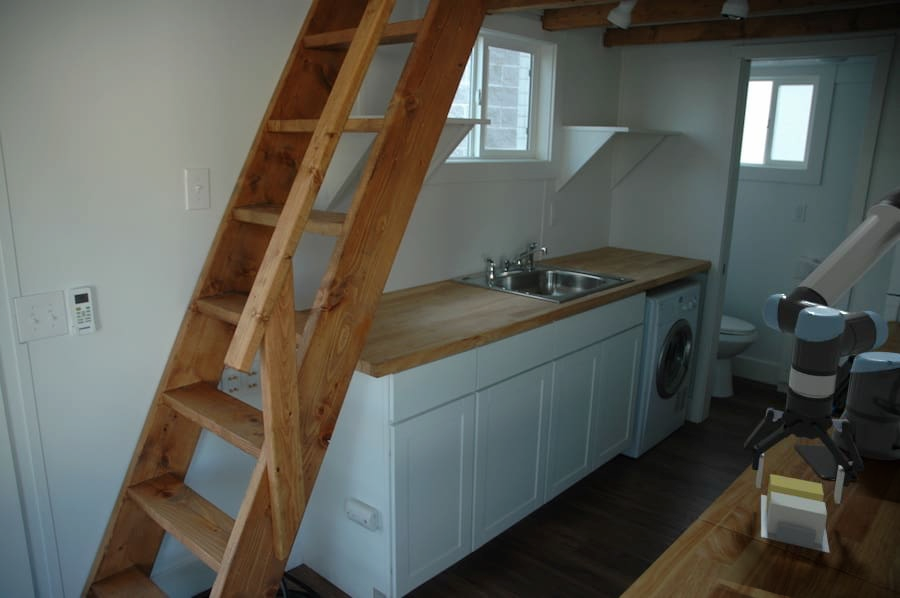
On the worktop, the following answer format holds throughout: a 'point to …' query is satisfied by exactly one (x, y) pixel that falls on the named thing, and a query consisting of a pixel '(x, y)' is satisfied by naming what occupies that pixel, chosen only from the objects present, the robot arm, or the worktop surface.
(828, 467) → the smartphone
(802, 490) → the butter stick brick
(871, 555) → the worktop surface
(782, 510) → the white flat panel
